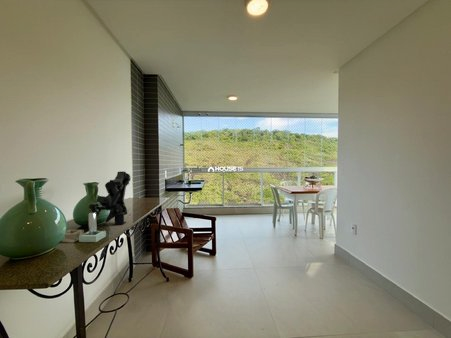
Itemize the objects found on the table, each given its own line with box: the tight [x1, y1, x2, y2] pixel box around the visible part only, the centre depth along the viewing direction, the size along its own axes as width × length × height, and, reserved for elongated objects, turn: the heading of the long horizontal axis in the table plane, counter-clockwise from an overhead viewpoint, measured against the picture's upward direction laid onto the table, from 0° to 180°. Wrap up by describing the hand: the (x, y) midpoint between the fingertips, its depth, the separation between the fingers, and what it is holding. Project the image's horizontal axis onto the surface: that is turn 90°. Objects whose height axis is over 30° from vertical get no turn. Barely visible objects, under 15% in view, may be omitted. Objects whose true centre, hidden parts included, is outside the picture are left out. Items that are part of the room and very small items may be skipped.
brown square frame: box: [61, 229, 85, 243], centre depth 118 cm, size 8×8×4 cm
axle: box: [88, 211, 98, 235], centre depth 119 cm, size 4×4×14 cm
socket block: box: [78, 230, 107, 243], centre depth 119 cm, size 9×9×3 cm
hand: (98, 221), depth 123 cm, fingers open, 9 cm apart
